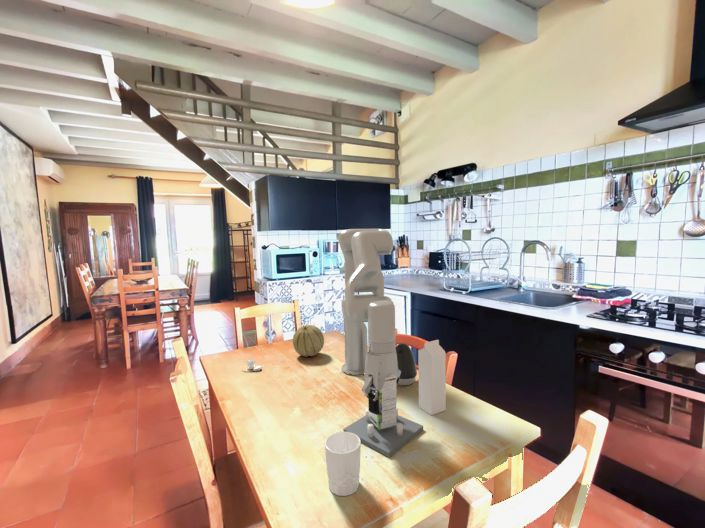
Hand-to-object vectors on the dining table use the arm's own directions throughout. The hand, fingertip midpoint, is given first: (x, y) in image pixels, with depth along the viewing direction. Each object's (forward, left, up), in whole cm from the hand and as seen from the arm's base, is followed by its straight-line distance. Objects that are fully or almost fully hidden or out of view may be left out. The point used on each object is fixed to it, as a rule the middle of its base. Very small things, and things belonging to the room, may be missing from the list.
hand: (382, 406), depth 93 cm
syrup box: (0, 0, -5) cm, 5 cm away
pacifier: (+3, -69, -8) cm, 70 cm away
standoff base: (0, 0, -7) cm, 7 cm away
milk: (-20, +4, -7) cm, 22 cm away
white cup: (+22, +6, -7) cm, 24 cm away
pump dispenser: (-30, -14, -7) cm, 34 cm away
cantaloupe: (-26, -65, -7) cm, 70 cm away
